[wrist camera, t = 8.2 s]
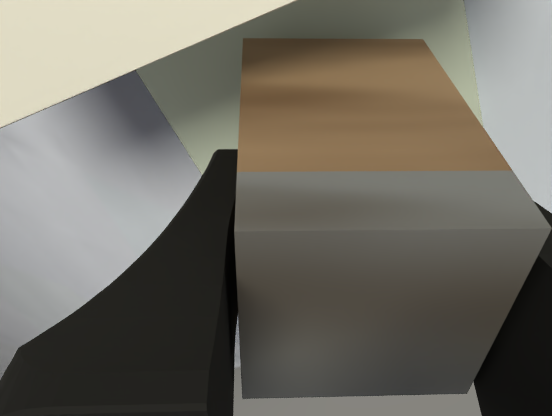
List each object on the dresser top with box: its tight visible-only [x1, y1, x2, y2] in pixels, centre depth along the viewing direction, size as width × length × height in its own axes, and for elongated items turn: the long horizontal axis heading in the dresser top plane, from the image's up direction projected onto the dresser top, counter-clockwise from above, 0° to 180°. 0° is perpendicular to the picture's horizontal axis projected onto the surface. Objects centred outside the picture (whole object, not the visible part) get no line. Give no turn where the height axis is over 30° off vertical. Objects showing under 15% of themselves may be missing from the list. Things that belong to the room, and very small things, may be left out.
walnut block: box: [234, 38, 552, 399], centre depth 11 cm, size 4×4×7 cm
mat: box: [136, 0, 483, 175], centre depth 15 cm, size 9×9×1 cm
